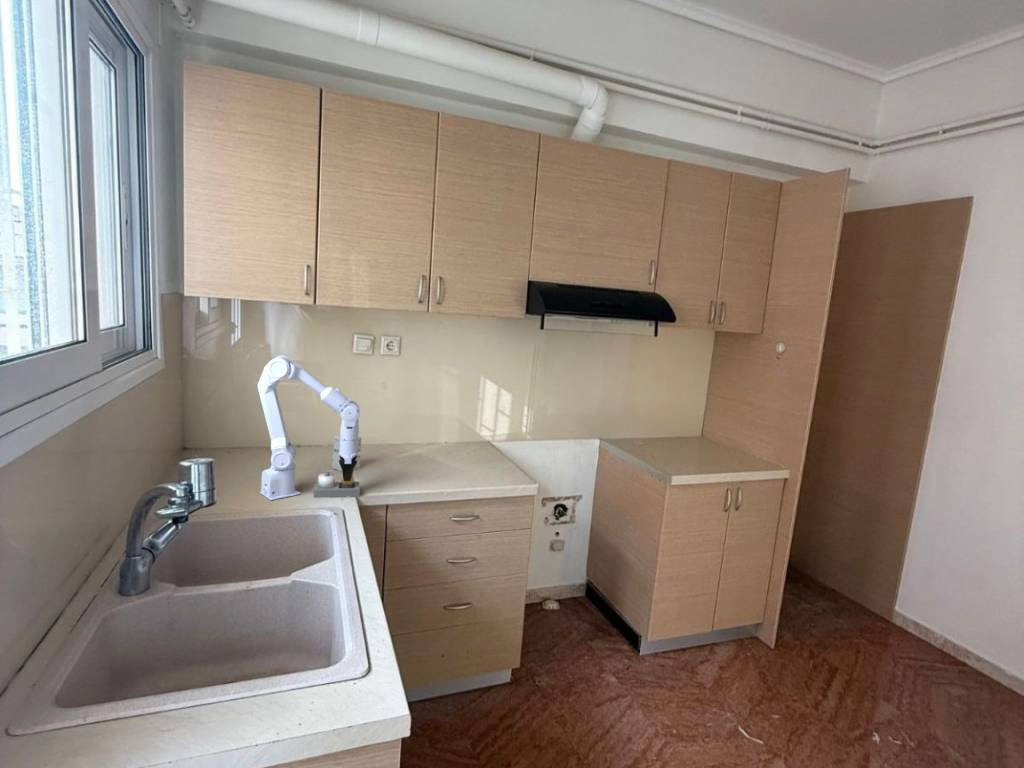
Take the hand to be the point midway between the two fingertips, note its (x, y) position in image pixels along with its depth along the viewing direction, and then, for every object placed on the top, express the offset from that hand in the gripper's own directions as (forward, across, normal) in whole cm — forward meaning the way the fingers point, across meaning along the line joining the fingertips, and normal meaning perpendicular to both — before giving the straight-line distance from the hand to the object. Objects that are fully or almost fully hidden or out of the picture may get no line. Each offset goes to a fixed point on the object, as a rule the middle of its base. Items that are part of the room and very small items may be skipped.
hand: (347, 478), depth 171 cm
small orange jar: (+2, 0, 0) cm, 2 cm away
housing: (+5, 0, +3) cm, 6 cm away
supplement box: (+5, +26, 0) cm, 27 cm away
